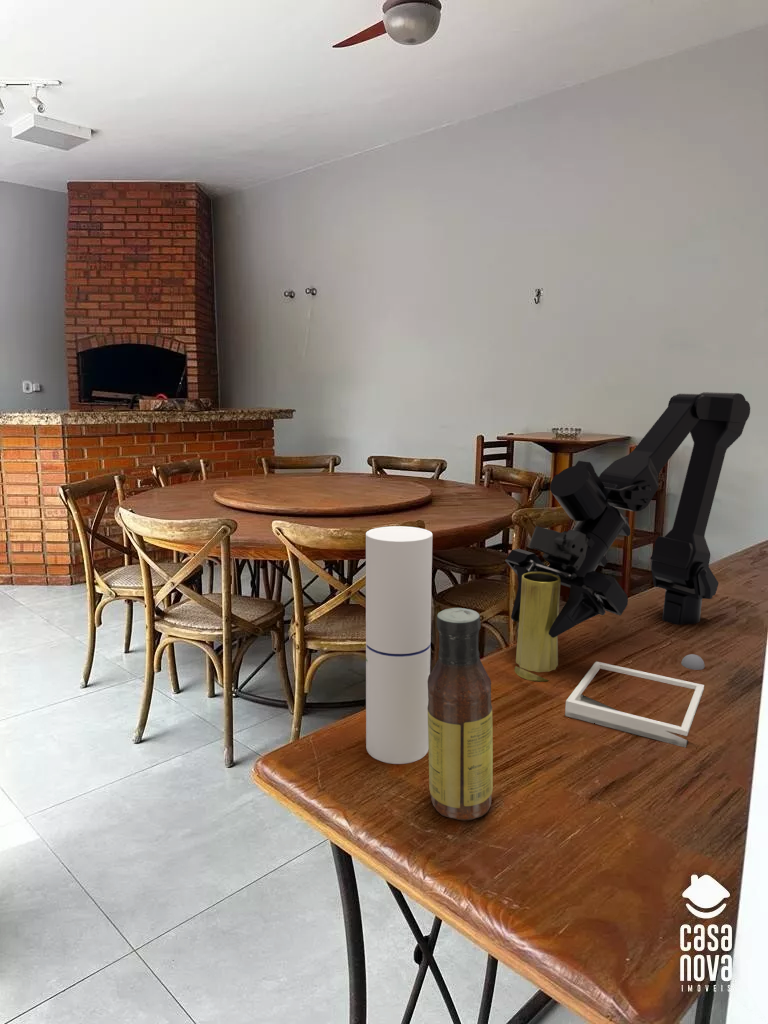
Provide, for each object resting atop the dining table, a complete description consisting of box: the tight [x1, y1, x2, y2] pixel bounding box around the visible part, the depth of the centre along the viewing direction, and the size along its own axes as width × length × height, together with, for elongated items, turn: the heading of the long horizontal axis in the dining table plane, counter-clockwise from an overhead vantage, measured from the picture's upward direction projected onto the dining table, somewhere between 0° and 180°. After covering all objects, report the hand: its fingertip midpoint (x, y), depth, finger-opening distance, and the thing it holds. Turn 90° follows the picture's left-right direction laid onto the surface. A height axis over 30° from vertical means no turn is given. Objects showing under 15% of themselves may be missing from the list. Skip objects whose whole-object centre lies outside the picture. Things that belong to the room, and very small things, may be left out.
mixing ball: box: [680, 653, 705, 671], centre depth 97 cm, size 3×3×3 cm
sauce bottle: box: [427, 607, 494, 821], centre depth 66 cm, size 7×6×20 cm
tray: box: [564, 661, 705, 748], centre depth 87 cm, size 14×14×2 cm
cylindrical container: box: [365, 525, 434, 765], centre depth 76 cm, size 7×7×25 cm
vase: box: [513, 572, 562, 683], centre depth 96 cm, size 6×6×14 cm
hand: (531, 627), depth 95 cm, fingers open, 7 cm apart
